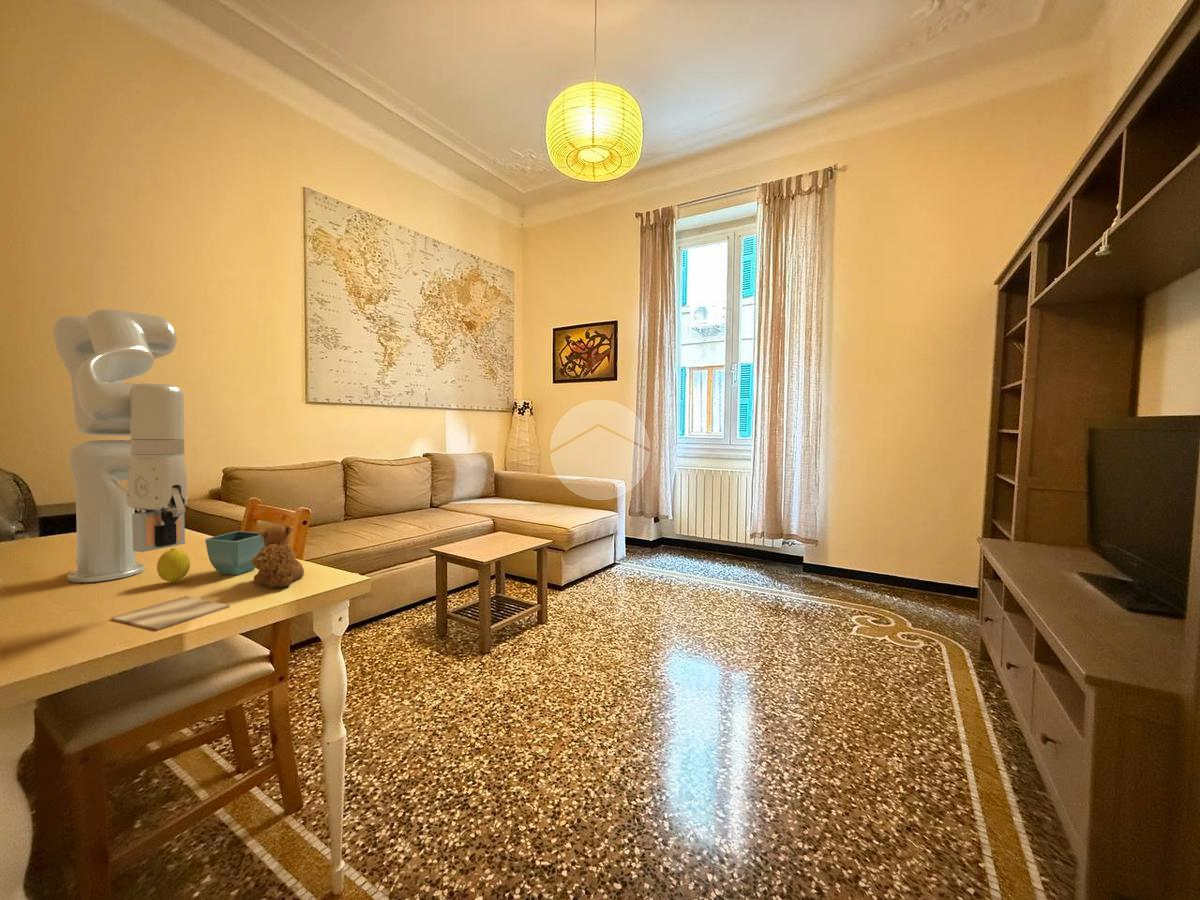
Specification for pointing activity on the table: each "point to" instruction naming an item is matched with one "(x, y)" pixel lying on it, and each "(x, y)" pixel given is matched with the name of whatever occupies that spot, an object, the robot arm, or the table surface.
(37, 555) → the table surface
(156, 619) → the cork mat
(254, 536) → the flower pot
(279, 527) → the brown fuzzy figure
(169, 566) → the lemon
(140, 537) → the tile
